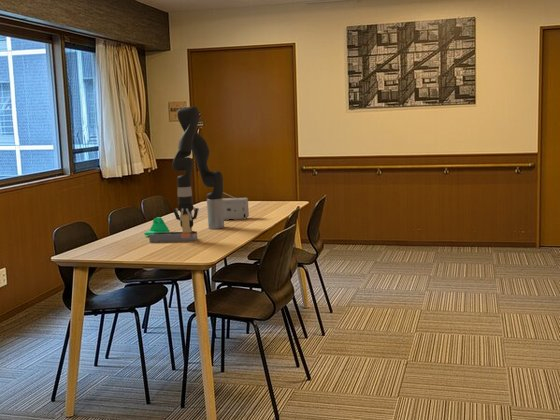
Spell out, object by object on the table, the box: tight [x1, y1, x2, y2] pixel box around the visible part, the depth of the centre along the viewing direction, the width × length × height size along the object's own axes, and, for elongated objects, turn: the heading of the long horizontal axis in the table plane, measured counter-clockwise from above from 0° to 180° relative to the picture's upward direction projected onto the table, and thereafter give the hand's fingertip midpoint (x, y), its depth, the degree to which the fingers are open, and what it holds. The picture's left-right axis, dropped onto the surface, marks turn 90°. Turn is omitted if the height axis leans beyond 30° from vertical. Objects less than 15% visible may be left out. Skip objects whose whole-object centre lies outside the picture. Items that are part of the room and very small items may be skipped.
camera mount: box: [143, 216, 171, 237], centre depth 376 cm, size 12×8×10 cm, turn 69°
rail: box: [148, 230, 198, 243], centre depth 359 cm, size 8×24×4 cm, turn 81°
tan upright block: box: [181, 214, 193, 233], centre depth 357 cm, size 4×4×11 cm
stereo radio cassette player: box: [223, 191, 250, 221], centre depth 424 cm, size 21×8×20 cm, turn 84°
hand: (187, 227), depth 357 cm, fingers closed on tan upright block, 4 cm apart
